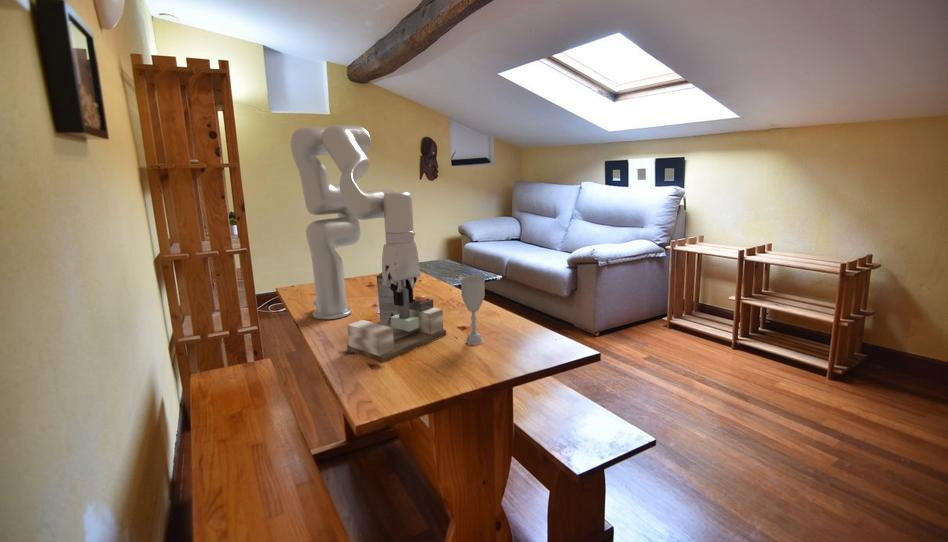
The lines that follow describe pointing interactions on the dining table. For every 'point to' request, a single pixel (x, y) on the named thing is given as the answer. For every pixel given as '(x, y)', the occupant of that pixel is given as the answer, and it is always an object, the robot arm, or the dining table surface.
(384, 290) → the coffee box
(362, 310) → the dining table surface
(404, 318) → the carriage
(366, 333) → the rail bed
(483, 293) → the chalice
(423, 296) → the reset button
